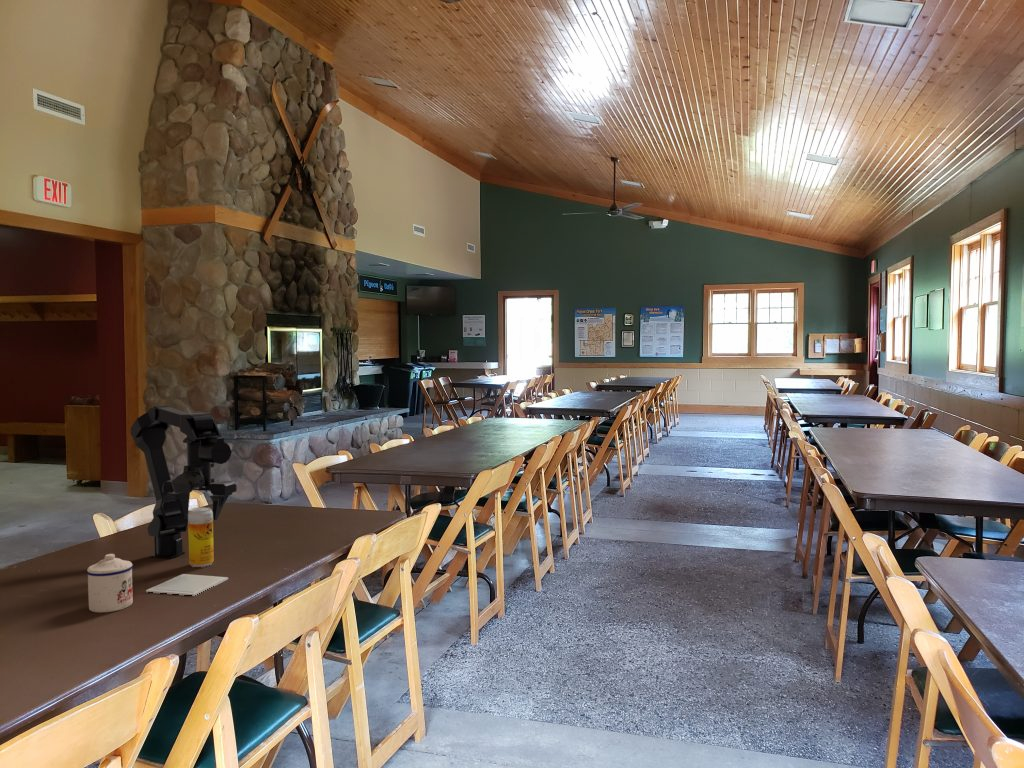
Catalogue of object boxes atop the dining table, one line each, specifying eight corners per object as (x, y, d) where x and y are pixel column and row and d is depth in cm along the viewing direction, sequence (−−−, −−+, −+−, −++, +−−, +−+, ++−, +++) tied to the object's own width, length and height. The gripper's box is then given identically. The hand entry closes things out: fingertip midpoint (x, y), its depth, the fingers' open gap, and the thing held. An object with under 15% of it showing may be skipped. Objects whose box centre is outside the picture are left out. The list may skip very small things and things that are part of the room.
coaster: (146, 592, 172) (146, 589, 172) (182, 575, 185) (182, 573, 185) (194, 596, 169) (194, 593, 169) (228, 579, 182) (228, 576, 182)
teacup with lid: (125, 612, 159) (124, 559, 159) (80, 614, 158) (79, 561, 157) (143, 594, 171) (142, 545, 171) (101, 596, 169) (100, 547, 169)
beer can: (204, 568, 191) (203, 512, 190) (184, 567, 192) (182, 511, 192) (218, 562, 197) (217, 507, 196) (198, 561, 198) (197, 506, 197)
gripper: (147, 464, 188) (148, 524, 188) (210, 466, 183) (212, 528, 184) (176, 457, 198) (177, 514, 199) (237, 460, 194) (238, 518, 195)
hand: (200, 519), depth 194 cm, fingers open, 9 cm apart
